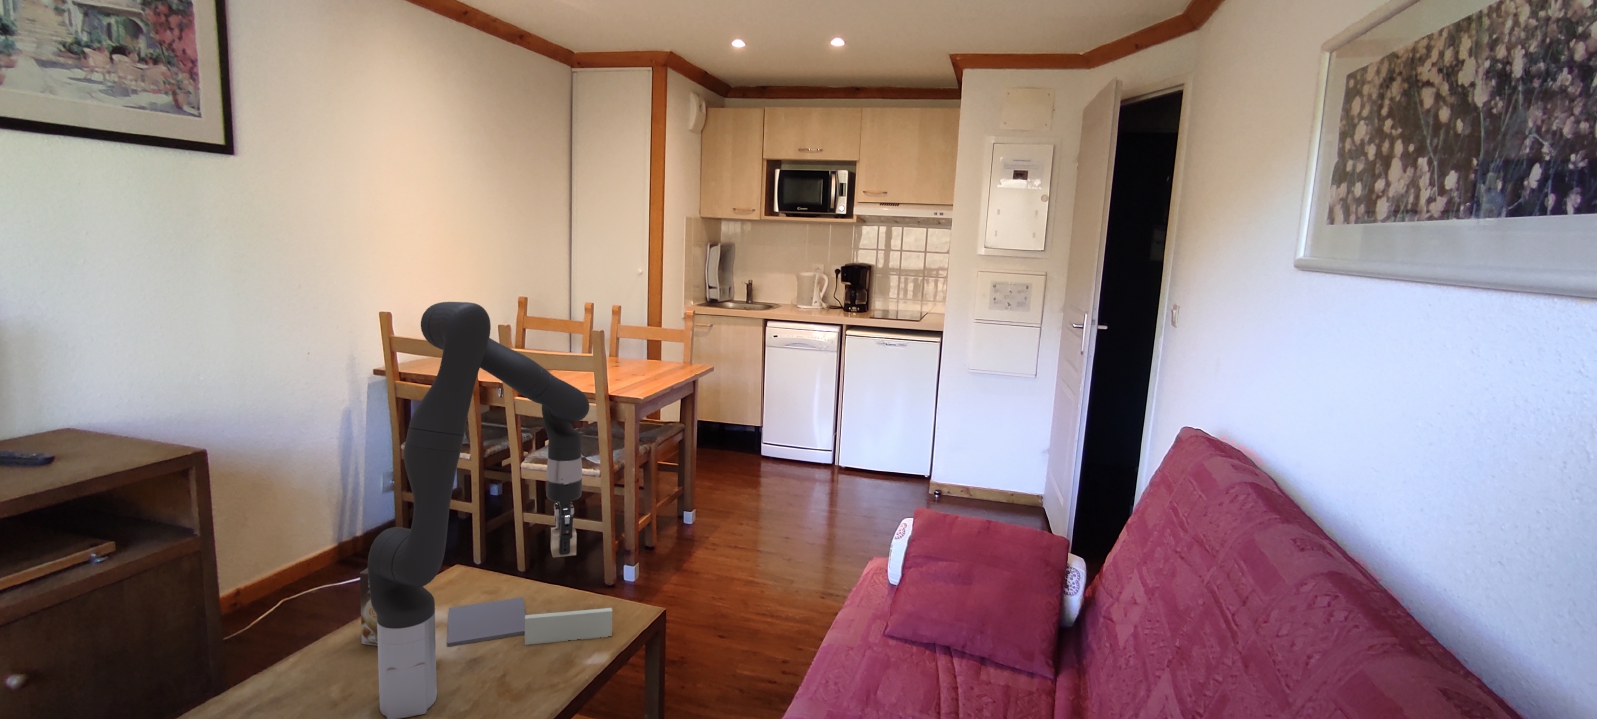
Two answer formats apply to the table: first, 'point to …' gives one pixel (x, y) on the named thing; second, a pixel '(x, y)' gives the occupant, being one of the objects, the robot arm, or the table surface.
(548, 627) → the screen
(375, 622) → the coffee box
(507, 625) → the mat
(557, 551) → the letter cube
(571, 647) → the table surface
